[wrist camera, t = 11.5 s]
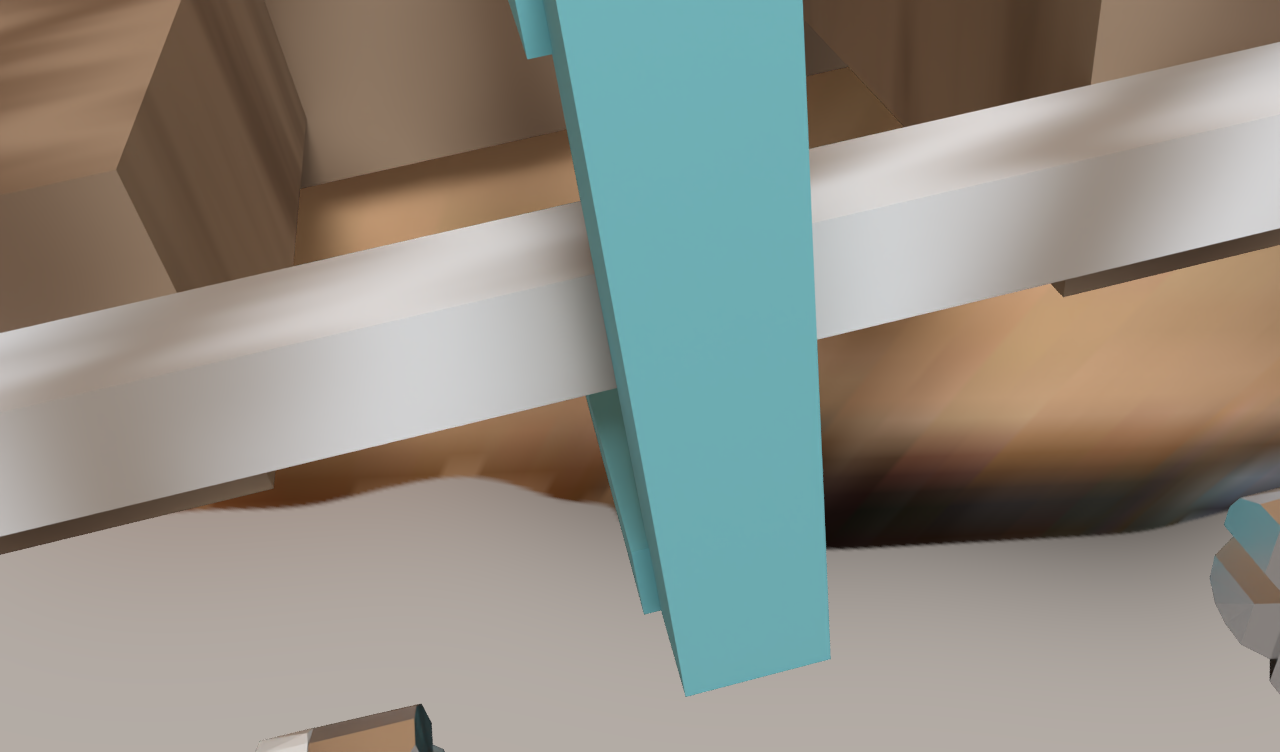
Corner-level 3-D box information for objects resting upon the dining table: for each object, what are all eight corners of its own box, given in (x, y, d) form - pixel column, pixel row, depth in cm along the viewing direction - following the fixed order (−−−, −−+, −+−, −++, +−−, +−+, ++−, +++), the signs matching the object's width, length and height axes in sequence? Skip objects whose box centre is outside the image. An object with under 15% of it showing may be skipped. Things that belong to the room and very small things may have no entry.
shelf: (1065, -384, 28) (1836, -301, 13) (1031, 4, 34) (1528, 346, 19) (-144, -149, 25) (-799, 256, 11) (58, 219, 32) (-191, 784, 17)
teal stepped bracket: (637, -246, 17) (828, -100, 10) (708, 335, 24) (848, 653, 17) (450, -210, 17) (516, -34, 10) (578, 366, 24) (667, 701, 17)
